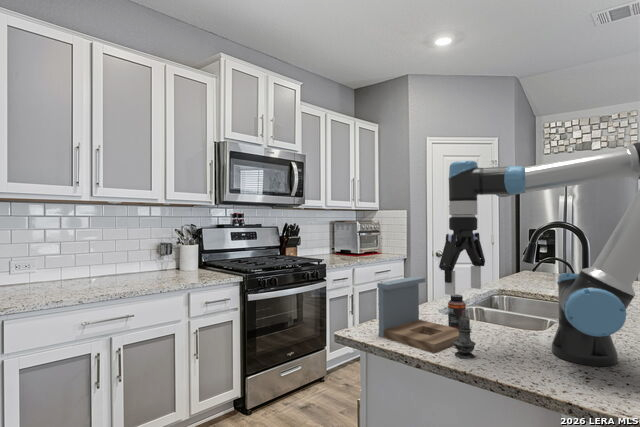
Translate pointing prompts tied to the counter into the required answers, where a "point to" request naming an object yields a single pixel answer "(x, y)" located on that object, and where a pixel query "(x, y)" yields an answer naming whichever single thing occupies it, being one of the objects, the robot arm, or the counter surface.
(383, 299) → the grey upright panel
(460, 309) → the supplement bottle
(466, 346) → the dark grey chess piece
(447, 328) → the socket block
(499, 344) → the counter surface
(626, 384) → the counter surface
